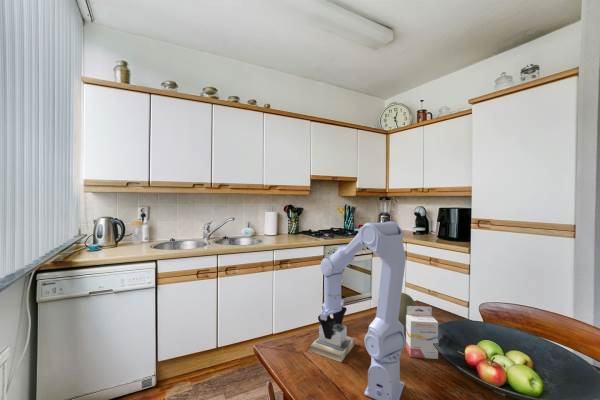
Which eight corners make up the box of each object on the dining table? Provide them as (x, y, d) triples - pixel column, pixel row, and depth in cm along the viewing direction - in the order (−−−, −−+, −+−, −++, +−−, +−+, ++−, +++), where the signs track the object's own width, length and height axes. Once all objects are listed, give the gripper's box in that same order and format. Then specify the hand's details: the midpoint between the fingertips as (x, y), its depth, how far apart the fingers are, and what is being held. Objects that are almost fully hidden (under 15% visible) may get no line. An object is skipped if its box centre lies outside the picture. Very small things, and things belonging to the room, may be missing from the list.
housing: (340, 347, 83) (340, 329, 83) (319, 340, 87) (318, 323, 87) (346, 340, 87) (346, 323, 87) (325, 334, 92) (325, 318, 92)
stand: (341, 362, 79) (340, 354, 79) (310, 351, 85) (310, 344, 85) (354, 344, 89) (354, 337, 89) (326, 335, 95) (326, 329, 95)
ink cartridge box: (410, 358, 81) (410, 311, 81) (405, 349, 86) (405, 305, 86) (439, 359, 80) (438, 312, 81) (432, 350, 85) (431, 306, 85)
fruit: (383, 325, 103) (383, 288, 103) (411, 325, 102) (411, 288, 103) (392, 340, 91) (392, 298, 92) (424, 341, 91) (424, 298, 91)
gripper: (331, 285, 96) (331, 321, 96) (311, 297, 84) (312, 339, 83) (349, 288, 92) (349, 326, 92) (331, 302, 80) (331, 345, 80)
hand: (333, 333), depth 87 cm, fingers open, 7 cm apart
